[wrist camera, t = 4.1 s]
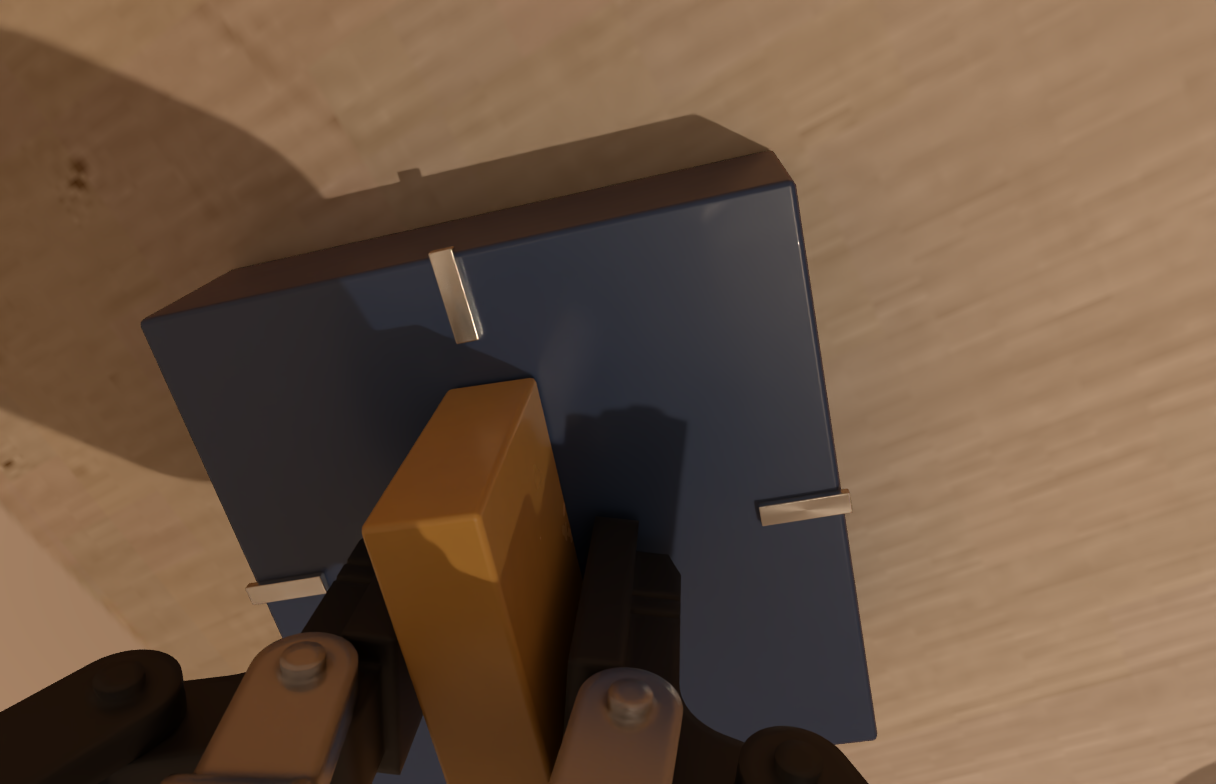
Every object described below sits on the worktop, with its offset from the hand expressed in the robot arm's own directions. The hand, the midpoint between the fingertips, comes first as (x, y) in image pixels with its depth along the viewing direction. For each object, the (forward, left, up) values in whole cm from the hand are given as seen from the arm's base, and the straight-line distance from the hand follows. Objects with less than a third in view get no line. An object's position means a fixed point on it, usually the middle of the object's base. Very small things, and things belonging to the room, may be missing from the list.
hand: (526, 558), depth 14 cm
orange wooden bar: (0, 0, 0) cm, 0 cm away
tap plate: (0, 0, -3) cm, 3 cm away
